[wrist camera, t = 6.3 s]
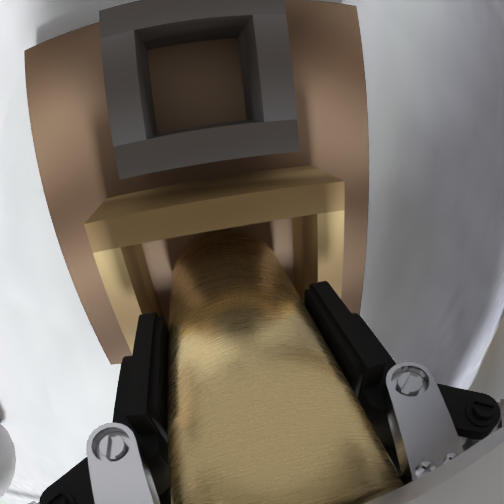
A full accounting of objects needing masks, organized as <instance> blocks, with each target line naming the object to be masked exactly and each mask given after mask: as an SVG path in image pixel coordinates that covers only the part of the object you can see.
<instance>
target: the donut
mask: <svg viewBox="0 0 504 504" xmlns="http://www.w3.org/2000/svg"><path fill="white" fill-rule="evenodd" d="M15 463H16V456H15V448H14V444H13V442H12V440H11V437H10V435H9V433H8V431H7V430H6V429H5V428H4V427H3V426H2V425H1V424H0V498H1V497H2V496H3V495H4V494H5V492H6V491H7V489H8V488H9V486H10V484H11V481H12V478H13V475H14V471H15Z"/></svg>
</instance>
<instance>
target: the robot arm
mask: <svg viewBox="0 0 504 504" xmlns="http://www.w3.org/2000/svg"><path fill="white" fill-rule="evenodd" d="M304 305H305V307H306V308H307V310H308V312H309V314H310V315H311V317H312V319H313V320H314V322H315V324H316V326H317V327H318V329H319V331H320V333H321V334H322V336H323V338H324V340H325V341H326V343H327V345H328V347H329V348H330V350H331V352H332V354H333V356H334V357H335V359H336V361H337V363H338V364H339V366H340V368H341V370H342V372H343V373H344V375H345V377H346V379H347V380H348V382H349V384H350V386H351V388H352V389H353V391H354V393H355V395H356V397H357V398H358V400H359V402H360V404H361V406H362V407H363V409H364V411H365V413H366V415H367V416H368V418H369V420H370V422H371V424H372V426H373V427H374V429H375V431H376V433H377V435H378V437H379V438H380V440H381V442H382V444H383V446H384V448H385V450H386V451H387V453H388V455H389V457H390V459H391V461H392V463H393V464H394V466H395V468H396V470H397V472H398V474H399V476H400V478H401V479H402V481H403V483H404V486H402V487H400V488H398V489H396V490H394V491H392V492H389V493H387V494H385V495H383V496H380V497H378V498H376V499H373V500H371V501H368V502H366V503H363V504H504V399H500V400H499V401H498V402H496V401H495V400H494V399H493V398H492V397H490V396H489V395H486V394H483V393H478V392H473V391H469V390H464V389H459V388H454V387H450V386H446V385H441V384H437V383H436V381H435V379H434V376H433V375H432V373H431V372H430V370H429V369H427V368H426V367H425V366H423V365H421V364H419V363H415V362H402V363H399V364H396V363H395V362H394V360H393V359H392V358H391V356H390V355H389V354H388V352H387V351H386V350H385V348H384V347H383V346H382V344H381V343H380V341H379V340H378V339H377V337H376V336H375V335H374V334H373V332H372V331H371V330H370V328H369V327H368V326H367V324H366V323H365V322H364V320H363V319H362V318H361V316H360V315H359V314H358V313H351V312H350V311H349V309H348V308H347V307H346V305H345V304H344V303H343V301H342V300H341V299H340V297H339V296H338V295H337V293H336V292H335V291H334V289H333V288H332V287H331V285H330V284H329V283H328V282H327V281H322V282H317V283H312V284H310V285H309V289H305V291H304ZM168 334H169V331H168V328H167V324H166V321H165V318H164V316H158V314H157V313H156V312H154V313H147V314H141V315H139V318H138V324H137V329H136V335H135V341H134V347H133V354H132V356H124V358H123V360H122V363H121V369H120V375H119V381H118V387H117V394H116V401H115V408H114V415H113V423H107V424H104V425H101V426H99V427H98V428H97V429H95V430H94V431H93V432H92V433H91V435H90V436H89V438H88V441H87V457H86V458H85V459H83V460H82V461H81V462H80V463H78V464H77V465H76V466H75V467H73V468H72V469H71V470H70V471H68V472H67V473H66V474H65V475H63V476H62V477H61V478H60V479H58V480H57V481H56V482H54V483H53V484H52V485H50V486H49V487H48V488H47V489H46V490H45V491H44V492H43V493H42V495H41V497H40V502H38V503H36V502H35V501H33V502H31V503H29V504H171V495H170V481H169V462H168V434H167V365H168Z"/></svg>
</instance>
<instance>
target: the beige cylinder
mask: <svg viewBox="0 0 504 504" xmlns="http://www.w3.org/2000/svg"><path fill="white" fill-rule="evenodd" d="M167 434H168V462H169V481H170V495H171V504H363V503H366V502H368V501H371V500H373V499H376V498H378V497H380V496H383V495H385V494H387V493H389V492H392V491H394V490H396V489H398V488H400V487H402V486H404V483H403V481H402V479H401V478H400V476H399V474H398V472H397V470H396V468H395V466H394V464H393V463H392V461H391V459H390V457H389V455H388V453H387V451H386V450H385V448H384V446H383V444H382V442H381V440H380V438H379V437H378V435H377V433H376V431H375V429H374V427H373V426H372V424H371V422H370V420H369V418H368V416H367V415H366V413H365V411H364V409H363V407H362V406H361V404H360V402H359V400H358V398H357V397H356V395H355V393H354V391H353V389H352V388H351V386H350V384H349V382H348V380H347V379H346V377H345V375H344V373H343V372H342V370H341V368H340V366H339V364H338V363H337V361H336V359H335V357H334V356H333V354H332V352H331V350H330V348H329V347H328V345H327V343H326V341H325V340H324V338H323V336H322V334H321V333H320V331H319V329H318V327H317V326H316V324H315V322H314V320H313V319H312V317H311V315H310V314H309V312H308V310H307V308H306V307H305V305H304V303H303V301H302V300H301V298H300V296H299V294H298V293H297V291H296V289H295V288H294V286H293V284H292V282H291V281H290V279H289V277H288V276H287V274H286V272H285V270H284V269H283V267H282V265H281V264H280V262H279V260H278V259H277V257H276V255H275V254H274V252H273V251H272V249H271V248H270V247H269V246H268V245H267V244H266V243H265V242H263V241H262V240H260V239H259V238H257V237H255V236H253V235H251V234H248V233H244V232H239V231H220V232H215V233H211V234H208V235H206V236H203V237H201V238H199V239H197V240H196V241H194V242H193V243H192V244H190V245H189V246H188V247H187V248H186V249H185V250H184V251H183V252H182V254H181V255H180V256H179V258H178V260H177V262H176V264H175V266H174V269H173V273H172V282H171V296H170V313H169V334H168V365H167Z"/></svg>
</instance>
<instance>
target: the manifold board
mask: <svg viewBox="0 0 504 504" xmlns="http://www.w3.org/2000/svg"><path fill="white" fill-rule="evenodd" d="M99 15H100V22H98V23H95V24H91V25H88V26H85V27H82V28H79V29H76V30H74V31H71V32H68V33H65V34H63V35H60V36H58V37H55V38H53V39H50V40H48V41H45V42H43V43H41V44H38V45H36V46H34V47H32V48H29V49H27V50H25V75H26V88H27V99H28V108H29V116H30V123H31V130H32V136H33V142H34V148H35V153H36V158H37V163H38V168H39V172H40V177H41V181H42V185H43V189H44V193H45V197H46V201H47V205H48V208H49V212H50V216H51V219H52V222H53V226H54V229H55V232H56V235H57V238H58V242H59V245H60V248H61V251H62V253H63V256H64V259H65V262H66V265H67V267H68V270H69V273H70V275H71V278H72V281H73V283H74V286H75V288H76V291H77V293H78V296H79V298H80V300H81V303H82V305H83V307H84V310H85V312H86V314H87V316H88V319H89V321H90V323H91V325H92V327H93V330H94V332H95V334H96V336H97V338H98V340H99V342H100V344H101V346H102V348H103V350H104V352H105V354H106V356H107V358H108V360H109V362H110V363H111V364H120V363H122V360H123V358H124V356H132V354H133V347H134V341H135V335H136V329H137V324H138V318H139V315H141V314H147V313H154V312H156V313H157V314H158V316H164V318H165V321H166V324H167V328H168V331H169V313H170V296H171V282H172V273H173V269H174V266H175V264H176V262H177V260H178V258H179V256H180V255H181V254H182V252H183V251H184V250H185V249H186V248H187V247H188V246H189V245H190V244H192V243H193V242H194V241H196V240H197V239H199V238H201V237H203V236H206V235H208V234H211V233H215V232H220V231H239V232H244V233H248V234H251V235H253V236H255V237H257V238H259V239H260V240H262V241H263V242H265V243H266V244H267V245H268V246H269V247H270V248H271V249H272V251H273V252H274V254H275V255H276V257H277V259H278V260H279V262H280V264H281V265H282V267H283V269H284V270H285V272H286V274H287V276H288V277H289V279H290V281H291V282H292V284H293V286H294V288H295V289H296V291H297V293H298V294H299V296H300V298H301V300H302V301H303V303H304V291H305V289H309V285H310V284H312V283H317V282H322V281H327V282H328V283H329V284H330V285H331V287H332V288H333V289H334V291H335V292H336V293H337V295H338V296H339V297H340V299H341V300H342V301H343V303H344V304H345V305H346V307H347V308H348V309H349V311H350V312H351V313H358V314H359V315H360V307H361V299H362V289H363V280H364V269H365V257H366V243H367V225H368V200H369V137H368V112H367V95H366V82H365V71H364V61H363V51H362V43H361V35H360V28H359V21H358V15H357V9H356V6H352V5H346V4H339V3H331V2H322V1H312V0H140V1H136V2H131V3H127V4H123V5H119V6H115V7H112V8H108V9H105V10H101V11H99Z"/></svg>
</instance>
